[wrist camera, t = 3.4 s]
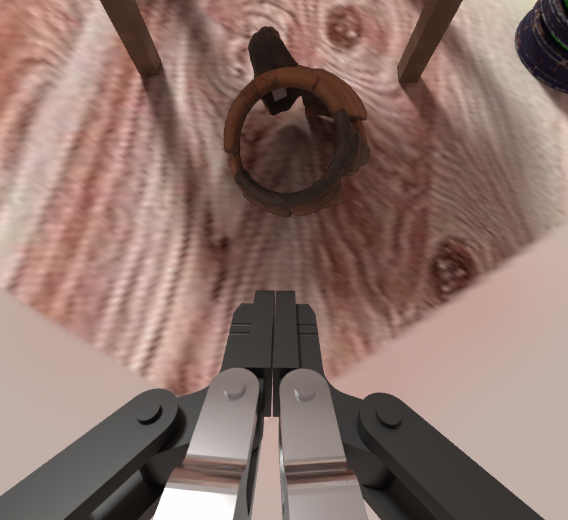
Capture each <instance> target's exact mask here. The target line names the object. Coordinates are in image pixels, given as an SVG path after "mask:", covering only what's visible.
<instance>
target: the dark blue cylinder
mask: <svg viewBox="0 0 568 520" xmlns="http://www.w3.org/2000/svg"><path fill="white" fill-rule="evenodd" d="M515 46H516V50H517V53H518V56H519V57H520V59H521V61H522V63H523V64H524V65H525V67H526V68H527V69H528V70H529V71H530V72H531V73H532V74H533V75H534V76H535V77H536V78H537V79H539V80H540V81H541V82H543V83H545V84H546V85H548V86H550V87H552V88H554V89H556V90H559V91H562V92H565V93H568V0H538V1H537V2H536V4H535V6H534V7H533V9H532V10H531V11H529V12H528V14H527V15H526V16H525V17H524V18H523V20H522V21H521V22H520V24H519V26H518V27H517V30H516V34H515Z"/></svg>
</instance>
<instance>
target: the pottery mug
mask: <svg viewBox="0 0 568 520" xmlns="http://www.w3.org/2000/svg"><path fill="white" fill-rule="evenodd" d="M248 50H249V54H250V60H251V63H252V66H253V70H254V79H253V80H252V81H251V82H250V83H249V84H248V85H247V86H246V87H245V88H244V89H243V90H242V91H241V93H240V94H239V95H238V97H237V98H236V100H235V101H234V103H233V104H232V107H231V108H230V110H229V114H228V117H227V120H226V124H225V128H224V150H225V151H226V152H227V153H229V155H230V160H231V171H232V174H233V177H234V179H235V181H236V184H237V185H238V187H239V189H240V190H241V191H242V192H243V195H244V197H245V198H246V199H247V200H249V201H250V202H251V203H253V204H254V205H256V206H258V207H259V208H261V209H263V210H265V211H267V212H270V213H272V214H275V215H280V216H284V217H290V216H291V215H292V214H295V215H297V216H304V215H308V214H311V213H313V212H316V211H318V210H320V209H323V208H327V207H330V206H336V205H339V204H341V203H343V202H344V200H343V193H342V188H341V178H342V177H343V176H351V175H352V174H354V173H356V172H357V171H358V170H359V168H360V167H361V166H363V165H365V164H367V162H368V158H369V152H370V148H369V147H368V146H367V137H366V133H365V130H364V126H363V123H362V120H366V119H367V111H366V109H365V107H364V104H363V102H362V101H361V99H360V98H359V96H358V95H357V93H356V92H355V91H354V90H353V89H352V88H351V87H350V86H349V85H348V84H347V83H346V82H344V81H343V80H342V79H340V78H339V77H337V76H336V75H334V74H332V73H330V72H328V71H325V70H323V69H319V68H317V69H312V68H310V67H305V66H301V65H298V63H297V62H296V61H295V60H294V59H293V57H292V56H291V54H290V53H289V51H288V50H287V48H286V46H285V45H284V43H283V41H282V40H281V38H280V35H279V32H278V31H276V30H275V29H274V28H273V27H266V26H264V27H262V28H261V29H260V30H259V31H258V32H257V33H255V34H254V35H253V36H252V38H251V40H250V42H249V46H248ZM299 96H302V100H303V105H304V106H305V114H306V116H315V115H319V116H327V117H330V118H333V119H334V123H335V127H336V148H335V152H334V156H333V159H332V161H331V163H330V165H329V167H328V169H327V171H326V173H325V174H324V175H323V176H322V177H321V178H320V179H319V180H318V181H317V182H316V183H314V184H313V185H312V186H310V187H308V188H307V189H304V190H302V191H299V192H294V193H278V192H273V191H270V190H268V189H265V188H264V187H262V186H260V185H259V184H258V183H257V182H256V181H255V180H254V179H253V178H252V177H251V176H250V175H249V173H248V172H247V171H246V170H245V169H244V167H243V165H242V162H241V158H240V135H241V130H242V126H243V123H244V121H245V118H246V116H247V114H248V112H249V111H250V110H251V108H252V107H253V106H254V104H255V103H256V102H257V101H259V100H260V99H261V100H262V101H263V103H264V105H265V107H266V108H267V109H268V111H269V114H270V115H272V116H274V115H276V114H278V113H280V112H283V111H287V110H289V109H290V108H291V106H292V105H293V104H294V102H295V101H296V99H297V98H298V97H299Z"/></svg>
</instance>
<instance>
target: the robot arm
mask: <svg viewBox="0 0 568 520" xmlns="http://www.w3.org/2000/svg"><path fill="white" fill-rule="evenodd" d="M274 327H275V330H274ZM272 378H273V417H279V463H280V482H281V499H282V500H281V501H282V519H283V520H368V517H367V513H366V509H365V505H364V502H363V499H364V500H365V501H366V502H367V503H368V505H369V506H370V507H371V508H372V509H373V511H374V512H375V513H376V514H377V515H378V517H379V518H380V519H381V520H544V519H543V518H542V517H540V515H538V514H537V513H536V512H535V511H534V510H532V509H531V508H530V507H529V506H528V505H526V504H525V503H524V502H523V501H522V500H520V499H519V498H518V497H517V496H515V495H514V494H513V493H512V492H511V491H509V490H508V489H507V488H506V487H504V485H502V484H501V483H500V482H499V481H498V480H496V479H495V478H494V477H493V476H491V475H490V474H489V473H488V472H486V471H485V470H484V469H483V468H482V467H481V466H479V465H478V464H477V463H476V462H475V461H473V460H472V459H471V458H470V457H469V456H467V455H466V454H465V453H464V452H463V451H461V450H460V449H459V448H458V447H457V446H455V445H454V444H453V443H452V442H451V441H449V440H448V439H447V438H446V437H445V436H443V435H442V434H441V433H440V432H438V431H437V430H436V429H435V428H434V427H433V426H431V425H430V424H429V423H428V422H427V421H425V420H424V419H423V418H422V417H421V416H419V415H418V414H417V413H416V412H414V411H413V410H412V409H411V408H410V407H408V406H407V405H406V404H405V403H404V402H402V401H401V400H400V399H398V398H396V397H395V396H392V395H390V394H386V393H373V394H370V395H368V396H367V397H365V398H364V400H362V399H359V398H356V397H353V396H350V395H347V394H344V393H342V392H340V391H338V390H337V389H335V388H334V387H333V386H332V385H331V384H330V383H329V382H328V381H327V379H326V377H325V375H324V372H323V366H322V359H321V352H320V344H319V337H318V330H317V323H316V316H315V313H314V311H313V310H312V309H311V307H310V306H309V304H296V303H295V291H276V307H275V291H267V290H256V292H255V299H254V304H249V303H241V305H240V306H239V307H238V308H237V309H236V311H235V312H234V314H233V319H232V323H231V327H230V332H229V336H228V341H227V345H226V349H225V354H224V358H223V362H222V367H221V370H220V373H219V374H218V375H217V376H216V377H215V378H214V379H213V381H212V382H211V384H210V385H209V386H208V387H206V388H204V389H202V390H200V391H198V392H195V393H192V394H188V395H185V396H181V397H178V398H176V397H175V395H174V394H173V393H172V392H170V391H168V390H165V389H152V390H148V391H145V392H143V393H141V394H139V395H138V396H136V397H135V398H133V399H132V400H131V401H129V402H128V403H126V404H125V405H124V406H122V407H121V408H120V409H118V410H117V411H116V412H114V413H113V414H112V415H110V416H109V417H107V418H106V419H105V420H103V421H102V422H101V423H99V424H98V425H97V426H95V427H94V428H92V429H91V430H90V431H88V432H87V433H86V434H85V435H83V436H82V437H80V438H79V439H78V440H76V441H75V442H73V443H72V444H71V445H69V446H68V447H67V448H65V449H64V450H63V451H61V452H60V453H58V454H57V455H56V456H54V457H53V458H52V459H50V460H49V461H48V462H46V463H45V464H44V465H42V466H41V467H39V468H38V469H37V470H35V471H34V472H33V473H31V474H30V475H29V476H27V477H26V478H25V479H23V480H22V481H20V482H19V483H18V484H16V485H15V486H14V487H13V488H11V489H10V490H8V491H7V492H6V493H4V494H3V495H1V496H0V520H150V519H151V518H152V517H153V516H154V515H155V516H154V519H153V520H251V515H252V508H253V500H254V493H255V486H256V478H257V471H258V464H259V456H260V449H261V440H262V437H263V427H264V417H271V401H272ZM155 513H156V514H155Z"/></svg>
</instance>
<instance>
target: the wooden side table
mask: <svg viewBox="0 0 568 520" xmlns="http://www.w3.org/2000/svg"><path fill="white" fill-rule="evenodd" d="M100 1H101V3H102V5H103V7H104V9H105V10H106V12H107V14H108V16H109V18H110V20H111V22H112V23H113V25H114V27H115V29H116V31H117V33H118V35H119V36H120V38H121V40H122V42H123V44H124V46H125V48H126V49H127V51H128V53H129V55H130V57H131V59H132V61H133V62H134V64H135V66H136V68H137V70H138V72H139V74H152V75H159V68H160V61H161V59H160V57H159V55H158V52H157V50H156V48H155V45H154V43H153V41H152V38H151V36H150V34H149V32H148V29H147V27H146V25H145V22H144V20H143V18H142V15H141V13H140V11H139V8H138V6H137V4H136V1H135V0H100ZM462 1H463V0H427V2H426V4H425V7H424V9H423V11H422V13H421V15H420V18H419V20H418V22H417V24H416V27H415V29H414V31H413V33H412V35H411V38H410V40H409V42H408V44H407V46H406V49H405V51H404V53H403V55H402V58H401V60H400V62H399V64H398V66H397V70H398V80H399V82H417V81H418V80H419V78H420V76H421V74H422V72H423V71H424V69H425V67H426V65H427V63H428V62H429V60H430V58H431V56H432V54H433V53H434V51H435V49H436V47H437V46H438V44H439V42H440V40H441V38H442V37H443V35H444V33H445V31H446V29H447V28H448V26H449V24H450V22H451V20H452V19H453V17H454V15H455V13H456V11H457V10H458V8H459V6H460V4H461V2H462Z"/></svg>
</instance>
